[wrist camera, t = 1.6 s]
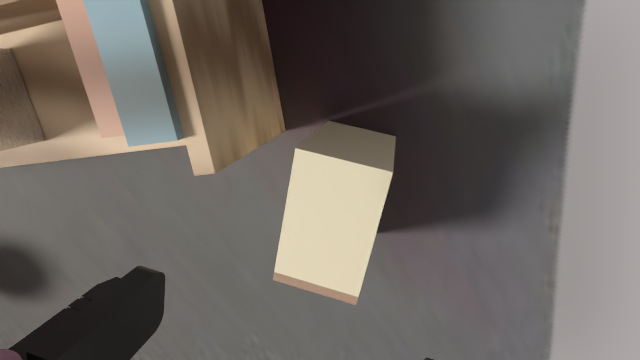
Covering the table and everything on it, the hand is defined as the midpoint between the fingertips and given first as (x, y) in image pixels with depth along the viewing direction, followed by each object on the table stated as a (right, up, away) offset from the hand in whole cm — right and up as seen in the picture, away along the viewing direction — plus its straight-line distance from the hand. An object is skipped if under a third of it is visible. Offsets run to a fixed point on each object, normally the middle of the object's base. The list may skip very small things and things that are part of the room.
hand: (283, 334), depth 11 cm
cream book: (+3, +5, +14) cm, 15 cm away
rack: (-14, +12, +16) cm, 24 cm away
